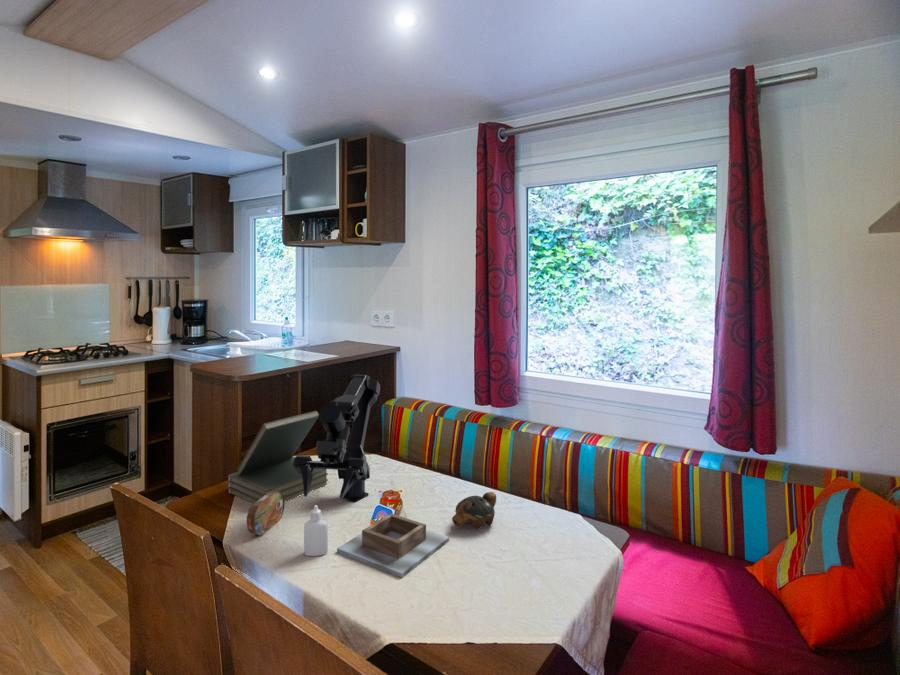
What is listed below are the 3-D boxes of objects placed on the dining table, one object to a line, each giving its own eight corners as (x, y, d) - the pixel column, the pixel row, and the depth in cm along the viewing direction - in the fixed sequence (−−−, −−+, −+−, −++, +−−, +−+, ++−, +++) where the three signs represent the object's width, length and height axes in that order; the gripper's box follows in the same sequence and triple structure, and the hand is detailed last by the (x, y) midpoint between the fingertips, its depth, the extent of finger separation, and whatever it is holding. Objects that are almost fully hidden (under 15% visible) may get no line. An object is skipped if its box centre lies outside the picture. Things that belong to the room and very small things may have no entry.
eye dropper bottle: (311, 546, 130) (310, 500, 129) (331, 550, 128) (330, 503, 127) (301, 555, 126) (300, 507, 124) (321, 559, 124) (321, 511, 123)
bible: (289, 472, 180) (288, 402, 177) (327, 486, 168) (327, 411, 166) (228, 493, 161) (226, 415, 159) (266, 511, 150) (264, 426, 147)
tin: (255, 541, 132) (255, 509, 131) (244, 540, 133) (243, 508, 132) (285, 515, 147) (285, 487, 146) (275, 514, 147) (275, 485, 146)
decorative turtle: (506, 521, 146) (507, 494, 144) (469, 542, 135) (469, 514, 134) (480, 508, 152) (481, 482, 151) (443, 527, 142) (443, 500, 141)
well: (388, 520, 144) (388, 503, 144) (449, 540, 134) (449, 522, 133) (337, 552, 127) (336, 532, 127) (402, 577, 117) (402, 556, 116)
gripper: (294, 425, 135) (277, 482, 126) (364, 428, 134) (353, 486, 124) (305, 445, 144) (290, 500, 134) (371, 448, 142) (361, 503, 133)
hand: (323, 497), depth 131 cm, fingers open, 9 cm apart
